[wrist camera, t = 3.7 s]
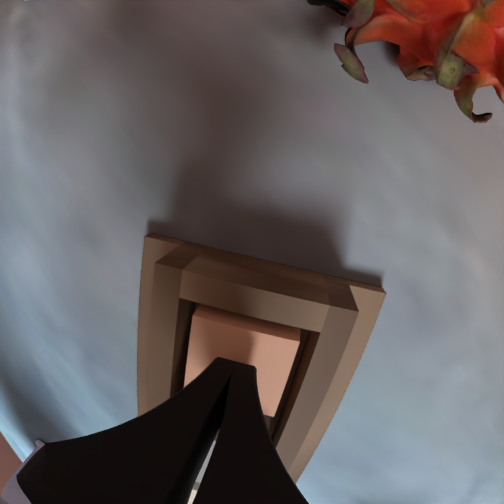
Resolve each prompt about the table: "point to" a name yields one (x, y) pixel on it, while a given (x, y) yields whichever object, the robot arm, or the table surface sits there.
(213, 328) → the key terracotta
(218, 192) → the table surface
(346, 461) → the table surface
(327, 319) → the keypad board
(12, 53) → the table surface
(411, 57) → the dragon fruit
